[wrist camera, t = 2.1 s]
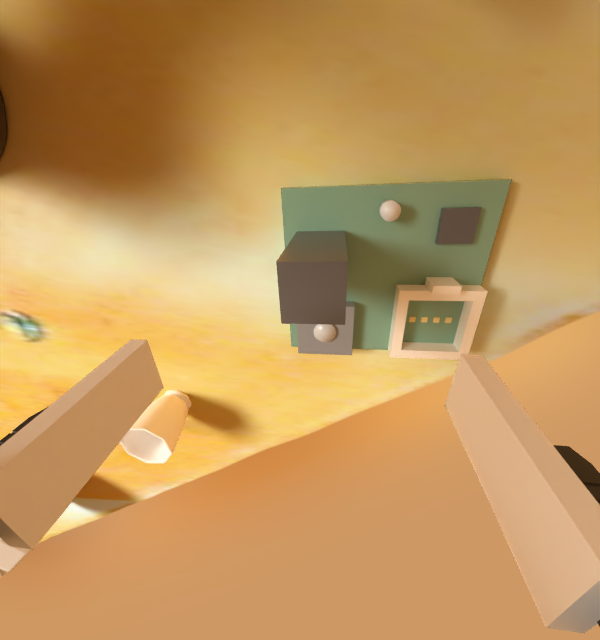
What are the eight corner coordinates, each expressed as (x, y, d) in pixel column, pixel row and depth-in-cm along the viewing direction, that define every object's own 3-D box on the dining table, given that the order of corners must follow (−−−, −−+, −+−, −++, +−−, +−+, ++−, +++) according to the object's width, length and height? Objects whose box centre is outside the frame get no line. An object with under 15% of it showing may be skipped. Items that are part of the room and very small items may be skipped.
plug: (296, 231, 26) (276, 261, 17) (344, 230, 26) (347, 261, 17) (298, 276, 28) (281, 324, 20) (342, 276, 28) (345, 325, 19)
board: (283, 187, 26) (277, 189, 23) (503, 178, 23) (523, 179, 21) (293, 341, 34) (289, 354, 31) (457, 346, 31) (467, 361, 29)
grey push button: (299, 296, 31) (295, 307, 28) (386, 297, 30) (390, 308, 27) (301, 341, 34) (298, 354, 31) (380, 343, 32) (384, 357, 30)
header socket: (397, 277, 27) (402, 285, 25) (482, 277, 26) (494, 286, 24) (387, 348, 31) (391, 361, 29) (460, 351, 30) (469, 364, 28)
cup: (209, 408, 41) (183, 457, 34) (164, 427, 45) (132, 474, 38) (178, 375, 39) (142, 421, 32) (133, 397, 42) (92, 443, 35)
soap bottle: (68, 462, 54) (-61, 601, 36) (92, 476, 55) (-21, 617, 38) (39, 486, 60) (-83, 615, 43) (61, 499, 62) (-48, 628, 44)
